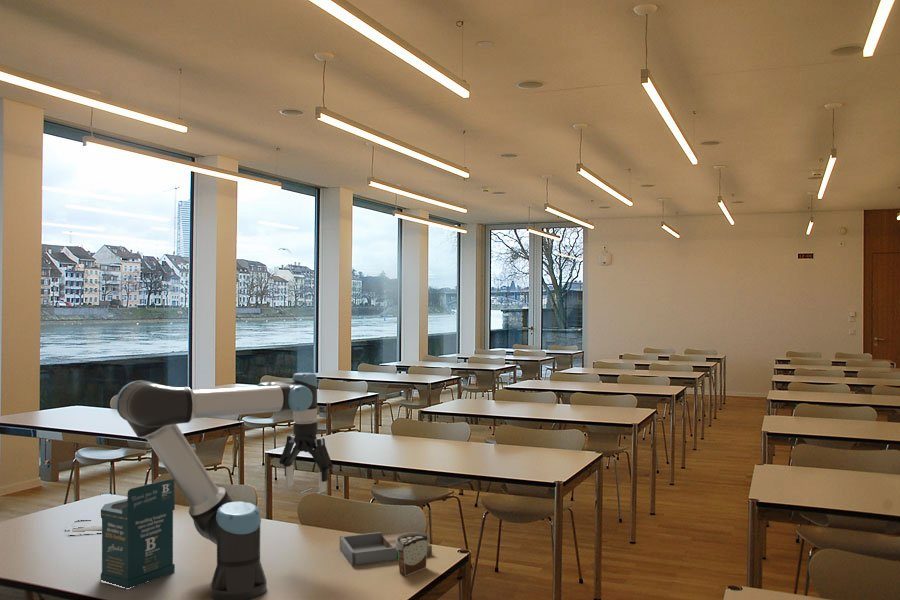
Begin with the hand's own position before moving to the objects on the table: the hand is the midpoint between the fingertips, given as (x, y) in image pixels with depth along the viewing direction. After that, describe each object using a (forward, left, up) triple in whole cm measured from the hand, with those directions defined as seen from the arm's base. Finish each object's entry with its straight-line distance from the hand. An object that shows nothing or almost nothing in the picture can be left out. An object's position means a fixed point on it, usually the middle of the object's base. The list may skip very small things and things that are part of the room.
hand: (305, 489), depth 231 cm
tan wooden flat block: (-4, -32, -22) cm, 39 cm away
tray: (-4, -19, -22) cm, 29 cm away
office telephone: (+64, +65, -22) cm, 94 cm away
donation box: (+3, +50, -22) cm, 55 cm away
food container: (-22, -27, -22) cm, 41 cm away
